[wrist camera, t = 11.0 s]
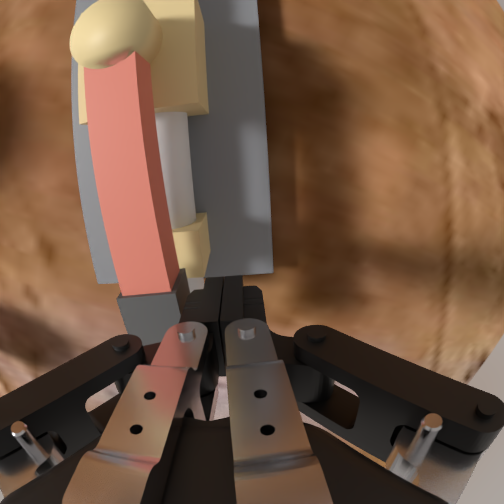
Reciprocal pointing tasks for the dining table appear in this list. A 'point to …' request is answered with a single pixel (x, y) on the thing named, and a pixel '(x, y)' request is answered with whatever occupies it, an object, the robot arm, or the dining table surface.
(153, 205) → the valve lever
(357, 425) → the robot arm
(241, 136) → the valve board
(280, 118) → the dining table surface
